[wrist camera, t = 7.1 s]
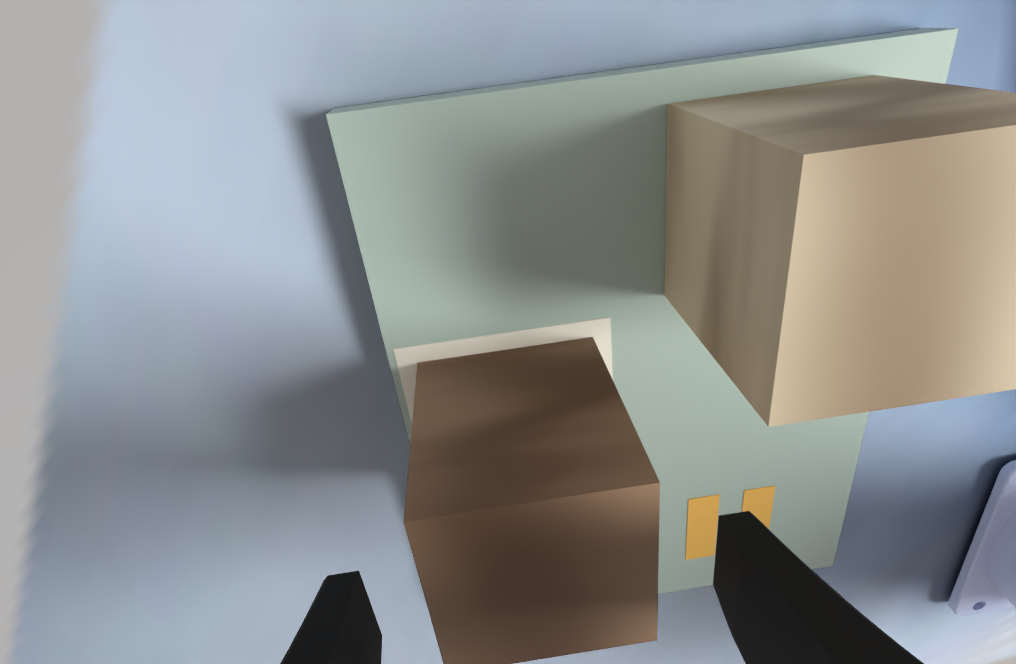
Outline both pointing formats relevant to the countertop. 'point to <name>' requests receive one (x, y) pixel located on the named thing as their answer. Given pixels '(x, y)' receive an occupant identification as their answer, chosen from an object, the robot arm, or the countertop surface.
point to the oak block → (847, 242)
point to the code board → (599, 268)
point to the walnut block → (531, 506)
